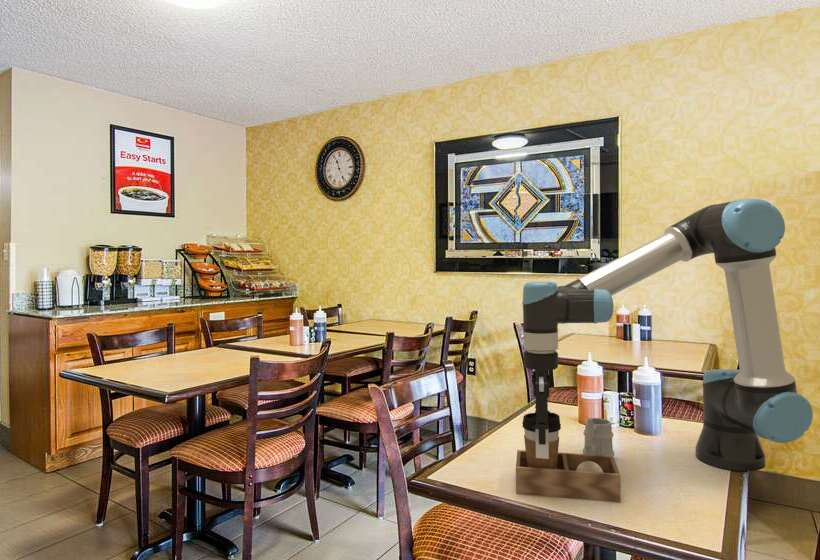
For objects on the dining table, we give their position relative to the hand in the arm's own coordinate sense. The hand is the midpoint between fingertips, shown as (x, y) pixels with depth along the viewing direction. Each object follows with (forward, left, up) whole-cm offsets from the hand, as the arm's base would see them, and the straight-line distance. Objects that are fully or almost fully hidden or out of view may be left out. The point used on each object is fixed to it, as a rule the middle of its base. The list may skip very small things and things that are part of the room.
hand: (541, 450), depth 117 cm
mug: (-14, -19, -9) cm, 25 cm away
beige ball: (-10, 0, -8) cm, 13 cm away
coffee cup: (0, 0, -7) cm, 7 cm away
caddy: (-5, 0, -9) cm, 10 cm away
